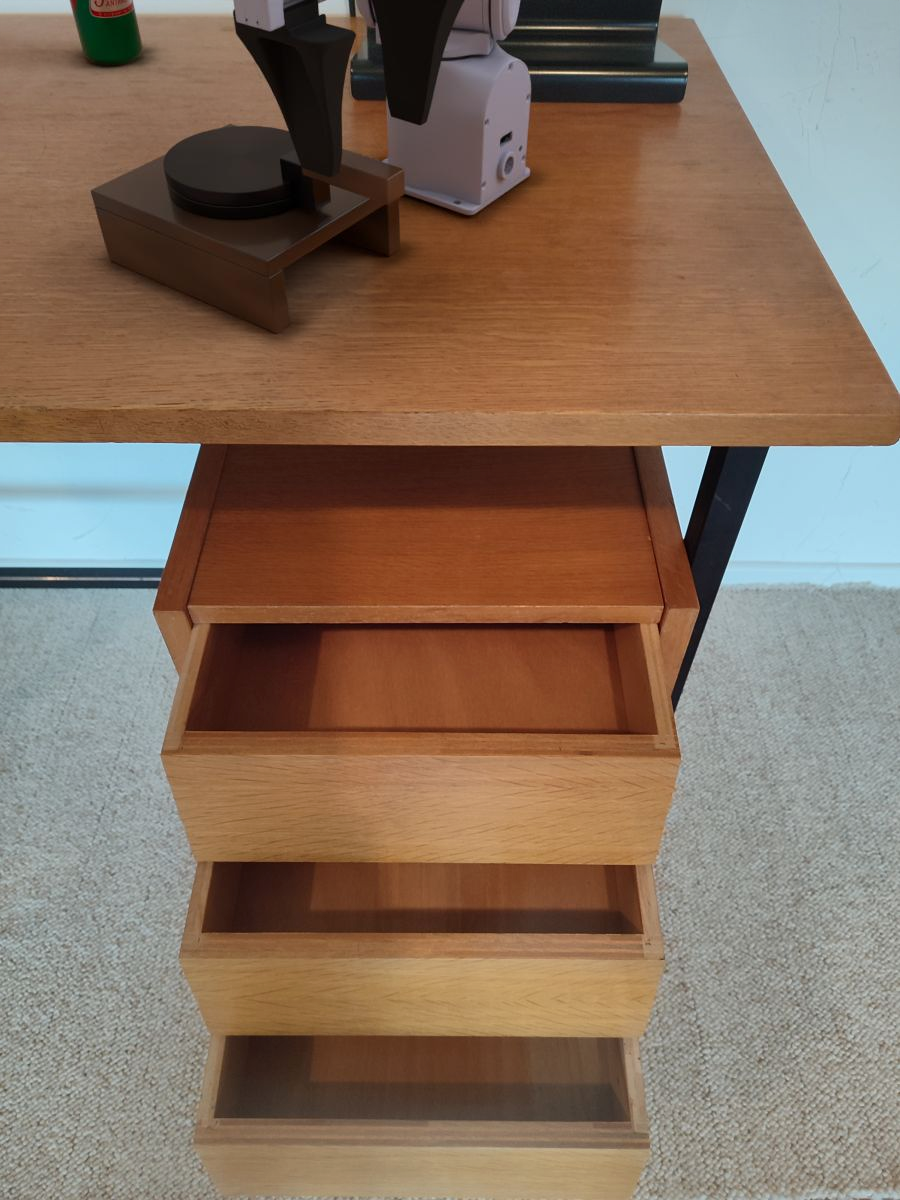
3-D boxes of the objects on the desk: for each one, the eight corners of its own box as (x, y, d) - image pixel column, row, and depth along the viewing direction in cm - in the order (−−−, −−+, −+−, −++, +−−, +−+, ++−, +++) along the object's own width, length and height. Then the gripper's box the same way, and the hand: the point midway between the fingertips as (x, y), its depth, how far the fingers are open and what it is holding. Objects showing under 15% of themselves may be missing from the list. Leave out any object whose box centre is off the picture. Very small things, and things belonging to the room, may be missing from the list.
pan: (136, 191, 55) (120, 126, 52) (241, 139, 60) (232, 77, 57) (347, 274, 49) (342, 206, 46) (443, 209, 54) (444, 144, 51)
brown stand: (400, 249, 60) (398, 179, 56) (276, 334, 53) (266, 261, 50) (240, 189, 65) (229, 122, 62) (109, 260, 58) (89, 189, 55)
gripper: (378, -225, 44) (388, 82, 54) (152, -177, 36) (214, 173, 46) (503, -207, 41) (489, 112, 52) (290, -151, 33) (323, 213, 44)
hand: (366, 143), depth 49 cm, fingers open, 7 cm apart
